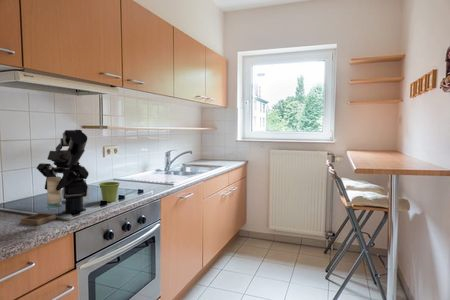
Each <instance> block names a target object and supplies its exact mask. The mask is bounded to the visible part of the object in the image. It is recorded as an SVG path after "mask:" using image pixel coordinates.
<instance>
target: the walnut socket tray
mask: <svg viewBox="0 0 450 300" xmlns="http://www.w3.org/2000/svg"><path fill="white" fill-rule="evenodd" d="M19 220H20V221H19V222H20V224H21V225H28V226H37V227H39V226H42V225H45V224H47V223H49V222H53V221H55V220H57V214H53V213H43V212H38V213H34V214H31V215H28V216H24V217H22V218H20V219H19Z"/></svg>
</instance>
